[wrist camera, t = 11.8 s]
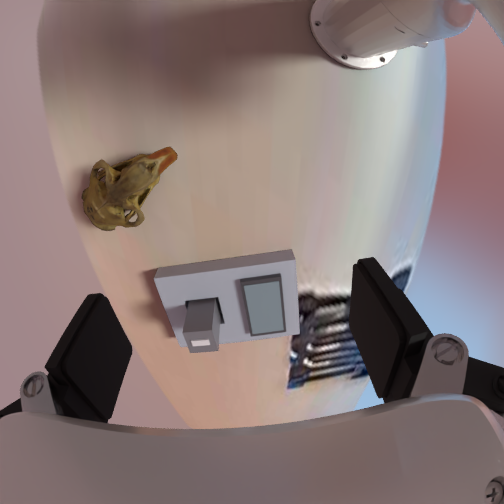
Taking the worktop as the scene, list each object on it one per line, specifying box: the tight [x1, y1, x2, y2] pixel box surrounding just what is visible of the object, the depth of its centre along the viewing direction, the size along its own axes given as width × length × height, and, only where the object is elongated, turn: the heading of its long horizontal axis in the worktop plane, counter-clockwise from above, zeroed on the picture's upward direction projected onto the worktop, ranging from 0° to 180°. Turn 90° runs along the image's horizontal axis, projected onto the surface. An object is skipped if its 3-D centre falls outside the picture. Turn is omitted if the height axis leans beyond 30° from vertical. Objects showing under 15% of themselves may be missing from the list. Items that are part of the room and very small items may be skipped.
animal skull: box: [82, 147, 177, 231], centre depth 31 cm, size 9×16×10 cm, turn 127°
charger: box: [182, 297, 221, 353], centre depth 40 cm, size 4×4×9 cm
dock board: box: [154, 250, 300, 347], centre depth 43 cm, size 20×14×4 cm
